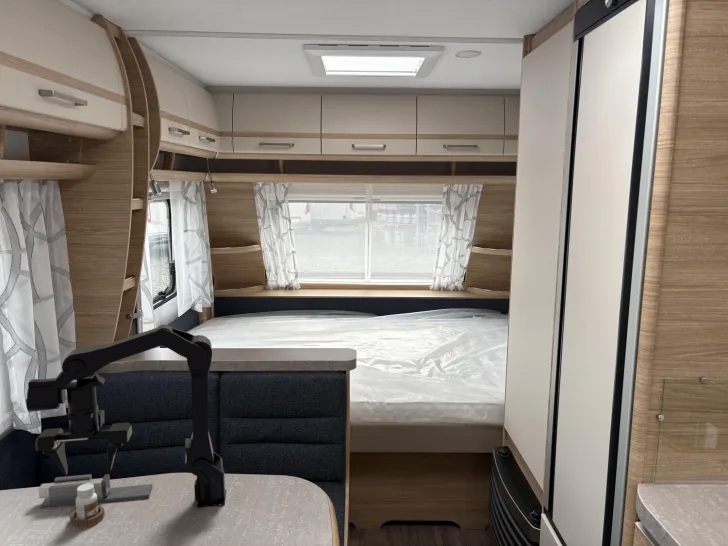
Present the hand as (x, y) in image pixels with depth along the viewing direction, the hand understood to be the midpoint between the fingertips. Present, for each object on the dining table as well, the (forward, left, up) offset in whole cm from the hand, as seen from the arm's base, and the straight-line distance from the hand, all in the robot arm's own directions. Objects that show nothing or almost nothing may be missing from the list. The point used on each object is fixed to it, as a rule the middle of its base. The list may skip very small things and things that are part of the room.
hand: (88, 472), depth 129 cm
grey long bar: (+6, -9, -10) cm, 15 cm away
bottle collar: (+1, 0, -11) cm, 11 cm away
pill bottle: (+1, 0, -11) cm, 11 cm away
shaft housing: (+1, -9, -11) cm, 14 cm away
